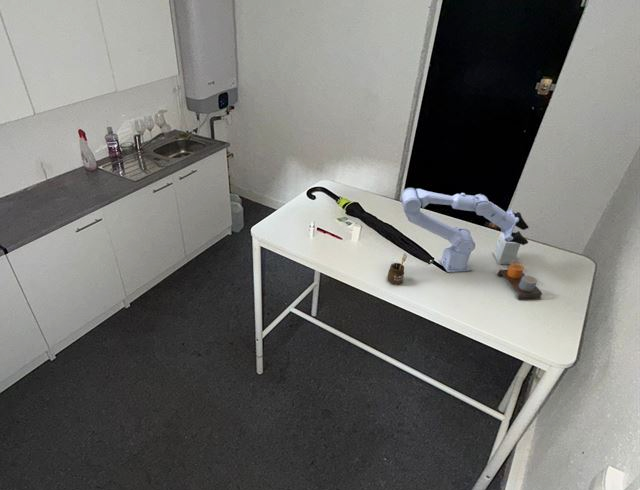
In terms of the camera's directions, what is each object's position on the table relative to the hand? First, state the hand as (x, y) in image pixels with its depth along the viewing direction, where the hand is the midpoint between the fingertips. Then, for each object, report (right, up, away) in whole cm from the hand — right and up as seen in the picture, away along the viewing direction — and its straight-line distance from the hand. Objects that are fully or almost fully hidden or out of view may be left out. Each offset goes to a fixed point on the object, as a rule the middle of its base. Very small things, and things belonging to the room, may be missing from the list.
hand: (525, 235), depth 155 cm
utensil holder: (-48, -18, +8) cm, 52 cm away
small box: (+1, -9, +16) cm, 18 cm away
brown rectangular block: (-3, -19, +1) cm, 20 cm away
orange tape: (-3, -15, +3) cm, 16 cm away
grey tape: (-3, -20, -4) cm, 20 cm away
